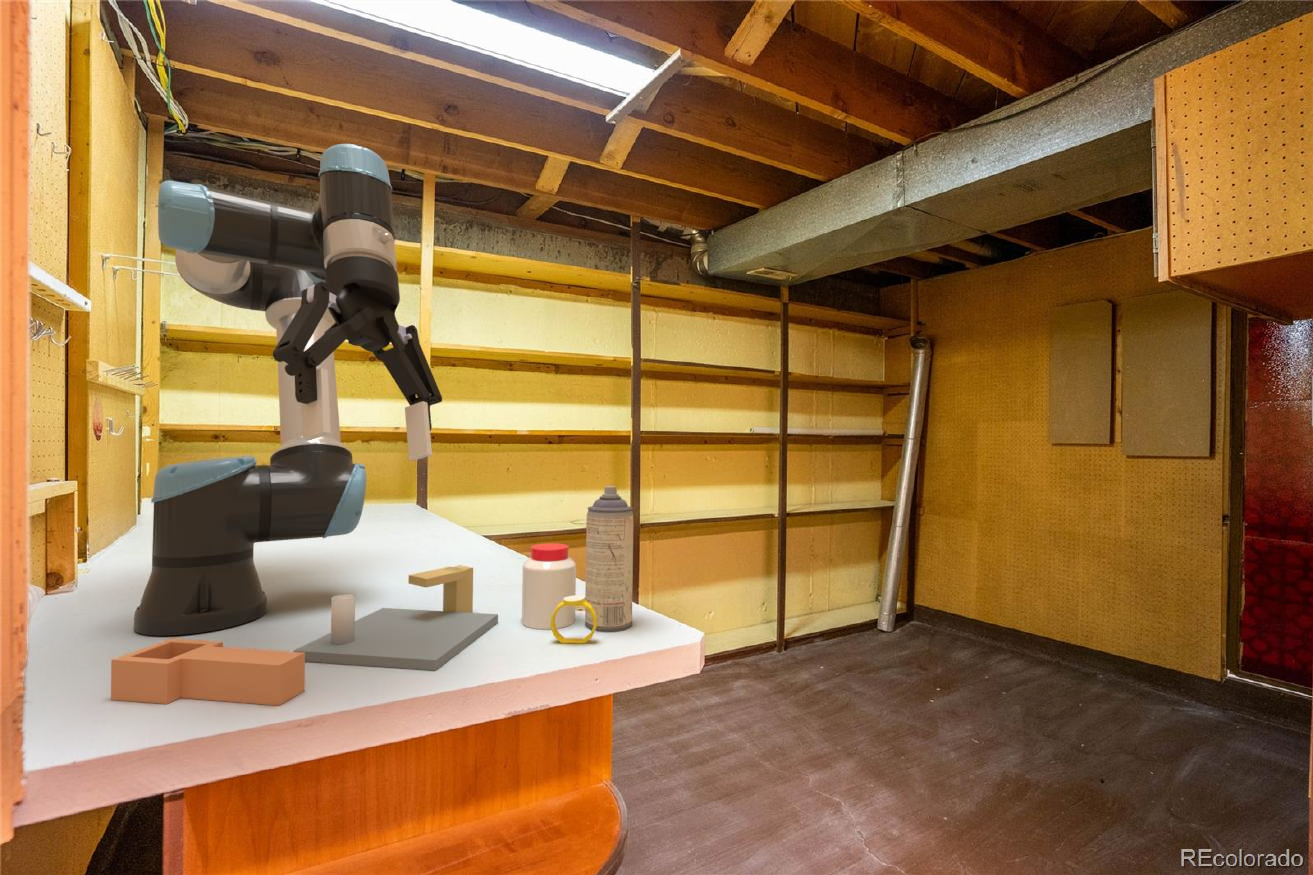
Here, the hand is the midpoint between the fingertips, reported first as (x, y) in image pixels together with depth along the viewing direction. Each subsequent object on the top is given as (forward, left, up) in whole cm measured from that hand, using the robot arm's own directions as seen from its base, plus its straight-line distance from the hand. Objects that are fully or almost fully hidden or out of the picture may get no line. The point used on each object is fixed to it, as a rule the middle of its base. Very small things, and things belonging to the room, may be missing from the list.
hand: (373, 448), depth 62 cm
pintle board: (-5, +17, -26) cm, 31 cm away
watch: (+17, +18, -26) cm, 36 cm away
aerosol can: (+20, +26, -26) cm, 42 cm away
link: (-16, -3, -26) cm, 30 cm away
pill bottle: (+11, +26, -26) cm, 39 cm away
